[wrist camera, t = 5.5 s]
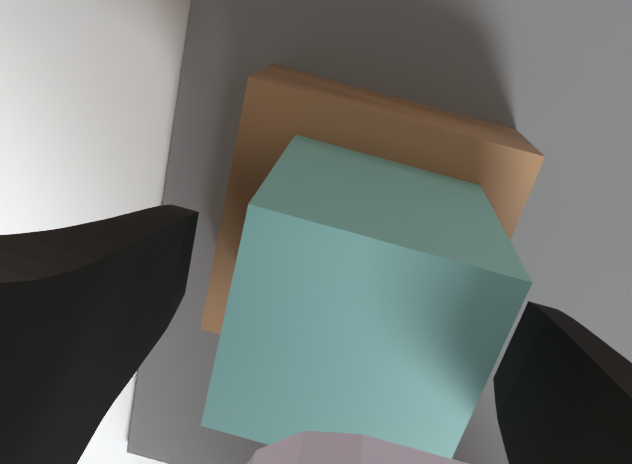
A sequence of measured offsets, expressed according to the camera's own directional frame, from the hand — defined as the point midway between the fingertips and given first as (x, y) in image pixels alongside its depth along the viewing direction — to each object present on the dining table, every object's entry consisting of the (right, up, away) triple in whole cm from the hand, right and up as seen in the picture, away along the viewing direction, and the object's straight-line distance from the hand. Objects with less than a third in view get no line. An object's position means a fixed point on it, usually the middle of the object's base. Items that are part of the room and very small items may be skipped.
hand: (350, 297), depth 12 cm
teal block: (0, +1, +2) cm, 2 cm away
